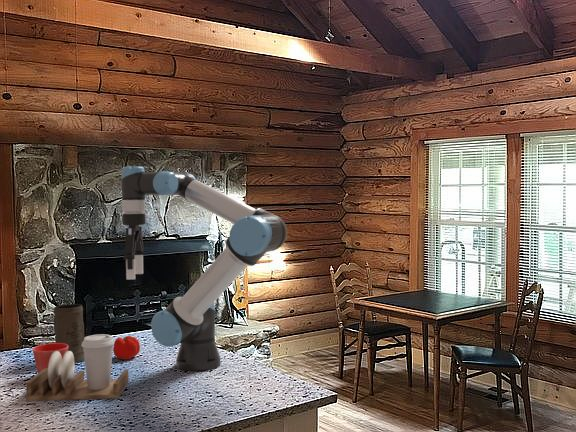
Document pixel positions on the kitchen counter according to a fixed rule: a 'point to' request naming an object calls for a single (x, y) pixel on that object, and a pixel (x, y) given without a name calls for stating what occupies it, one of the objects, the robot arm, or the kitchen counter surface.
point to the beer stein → (70, 328)
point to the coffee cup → (98, 360)
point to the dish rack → (69, 382)
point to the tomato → (126, 347)
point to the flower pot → (47, 353)
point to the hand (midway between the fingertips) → (135, 276)
